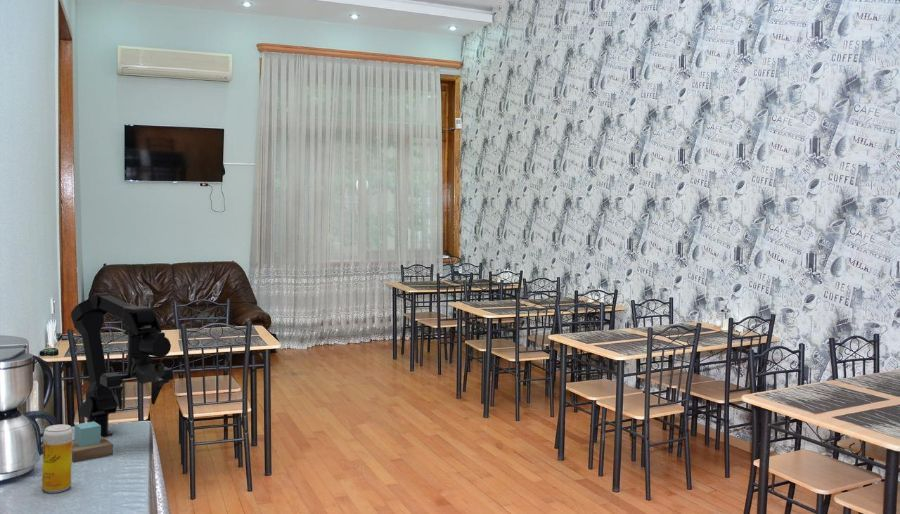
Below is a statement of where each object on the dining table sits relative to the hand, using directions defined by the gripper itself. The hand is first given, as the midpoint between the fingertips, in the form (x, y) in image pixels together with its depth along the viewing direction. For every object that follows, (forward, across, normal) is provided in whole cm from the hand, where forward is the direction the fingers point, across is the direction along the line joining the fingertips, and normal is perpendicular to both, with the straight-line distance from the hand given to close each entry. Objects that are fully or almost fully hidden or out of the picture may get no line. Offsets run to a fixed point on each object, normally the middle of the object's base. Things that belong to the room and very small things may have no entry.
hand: (136, 406), depth 201 cm
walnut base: (+12, -12, +3) cm, 17 cm away
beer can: (+12, -26, -18) cm, 34 cm away
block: (+9, -12, +3) cm, 15 cm away
